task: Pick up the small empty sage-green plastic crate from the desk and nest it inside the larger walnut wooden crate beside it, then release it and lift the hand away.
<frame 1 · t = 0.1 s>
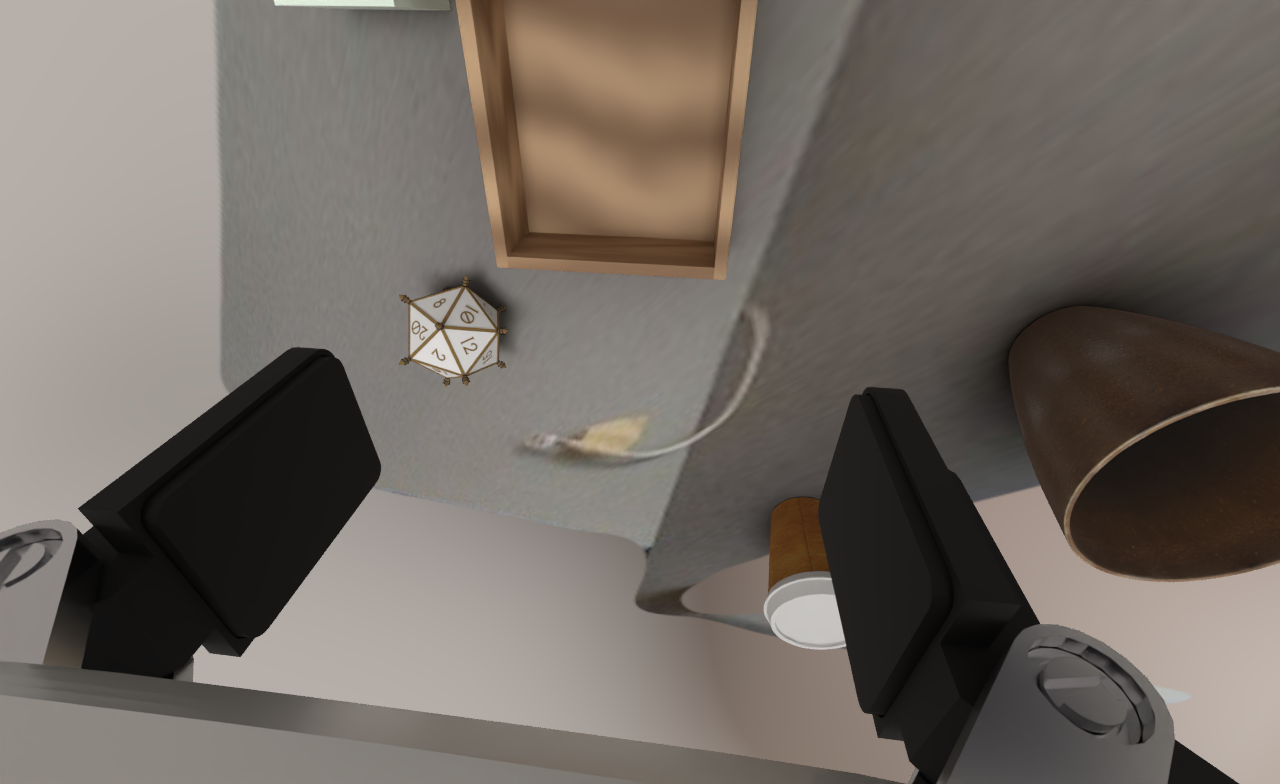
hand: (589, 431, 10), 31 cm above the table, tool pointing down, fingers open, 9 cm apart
disposable coffee cup: (800, 515, 55), on the table
plant pot: (1060, 347, 41), on the table
big crate: (620, 122, 35), on the table
game die: (475, 310, 45), on the table
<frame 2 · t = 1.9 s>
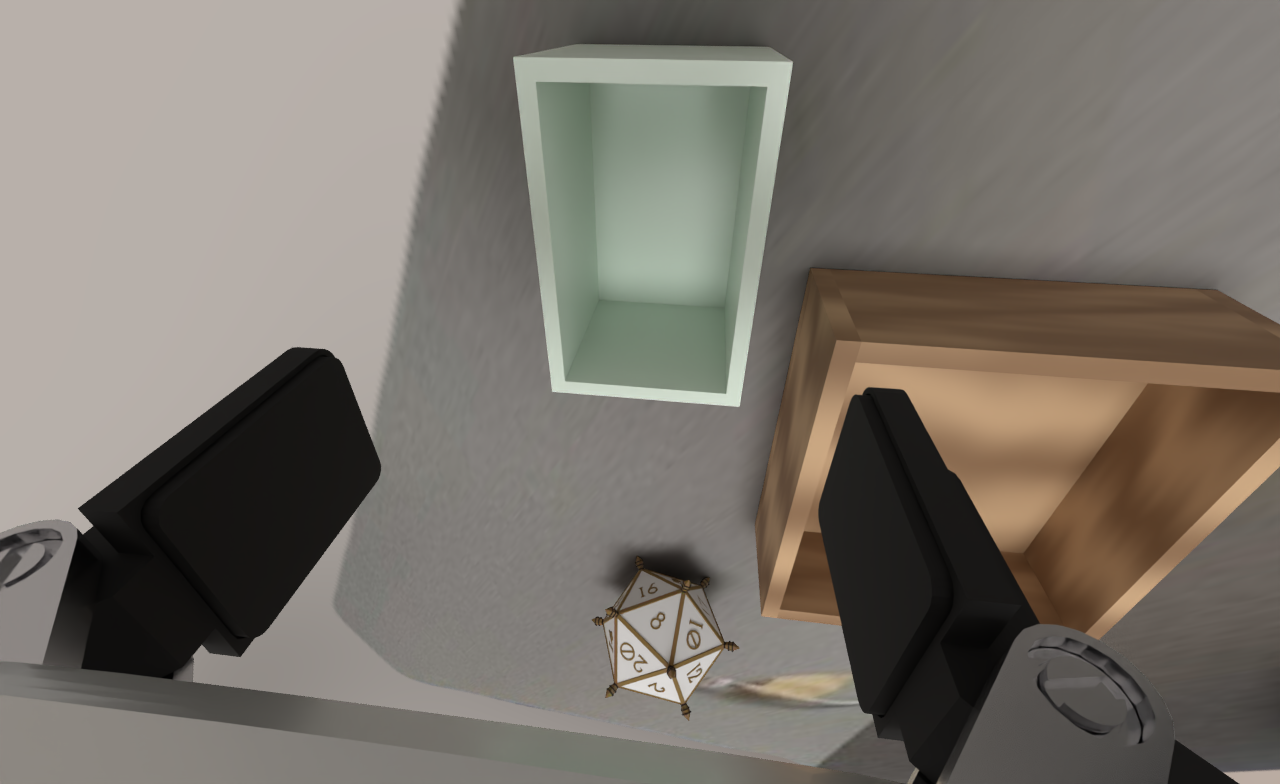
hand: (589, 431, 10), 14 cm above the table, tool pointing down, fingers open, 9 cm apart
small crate: (666, 195, 21), on the table
big crate: (935, 433, 26), on the table
game die: (666, 575, 36), on the table
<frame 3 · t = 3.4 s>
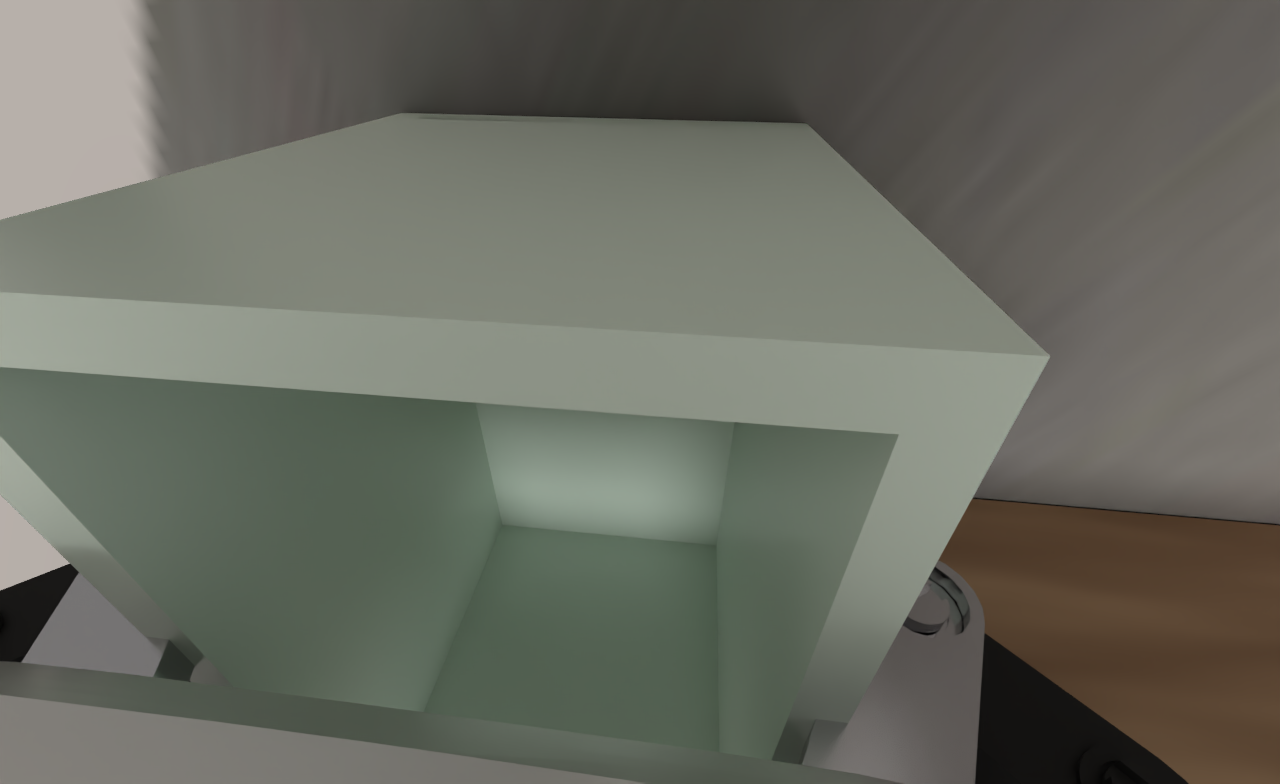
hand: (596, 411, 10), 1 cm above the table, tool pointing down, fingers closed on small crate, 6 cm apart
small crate: (606, 377, 11), on the table, touching gripper
big crate: (1051, 696, 16), on the table
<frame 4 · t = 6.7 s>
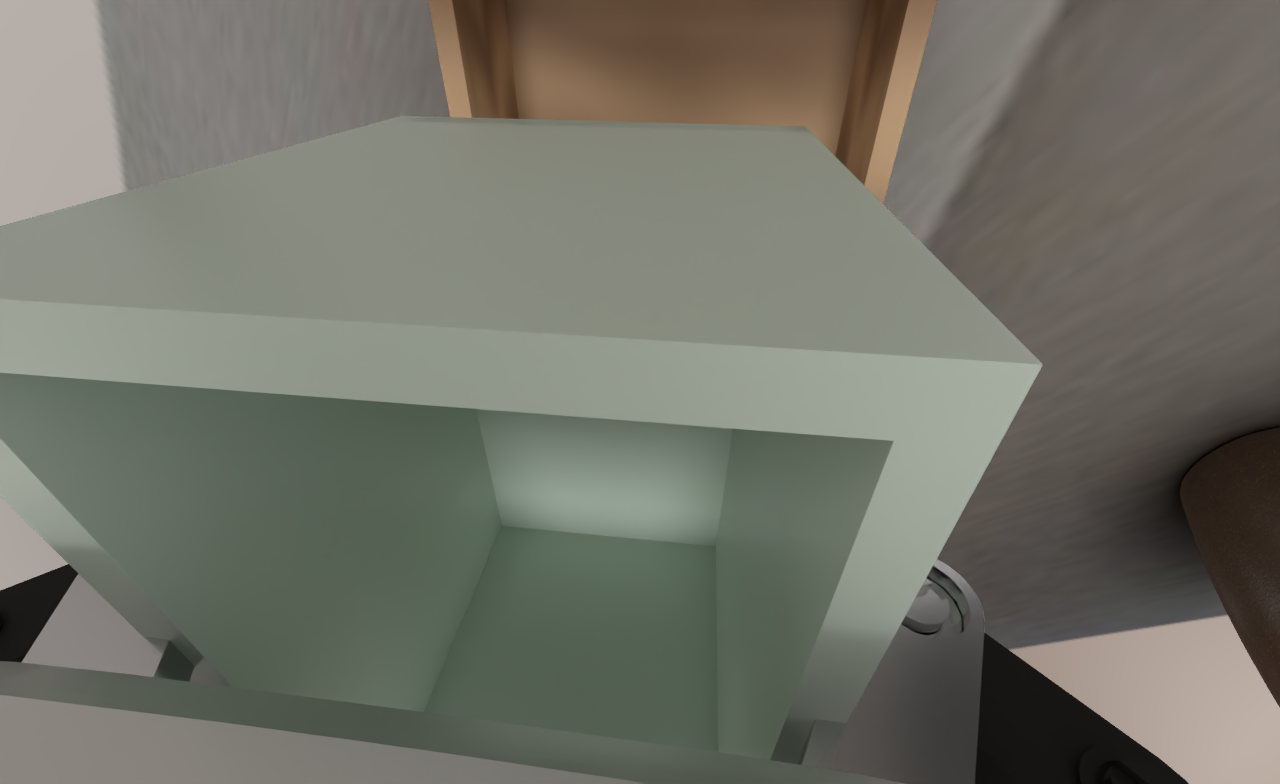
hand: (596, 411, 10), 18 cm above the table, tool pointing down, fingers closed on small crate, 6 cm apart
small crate: (605, 378, 11), point 17 cm above the table, touching gripper
plant pot: (1254, 472, 30), on the table
big crate: (674, 193, 25), on the table
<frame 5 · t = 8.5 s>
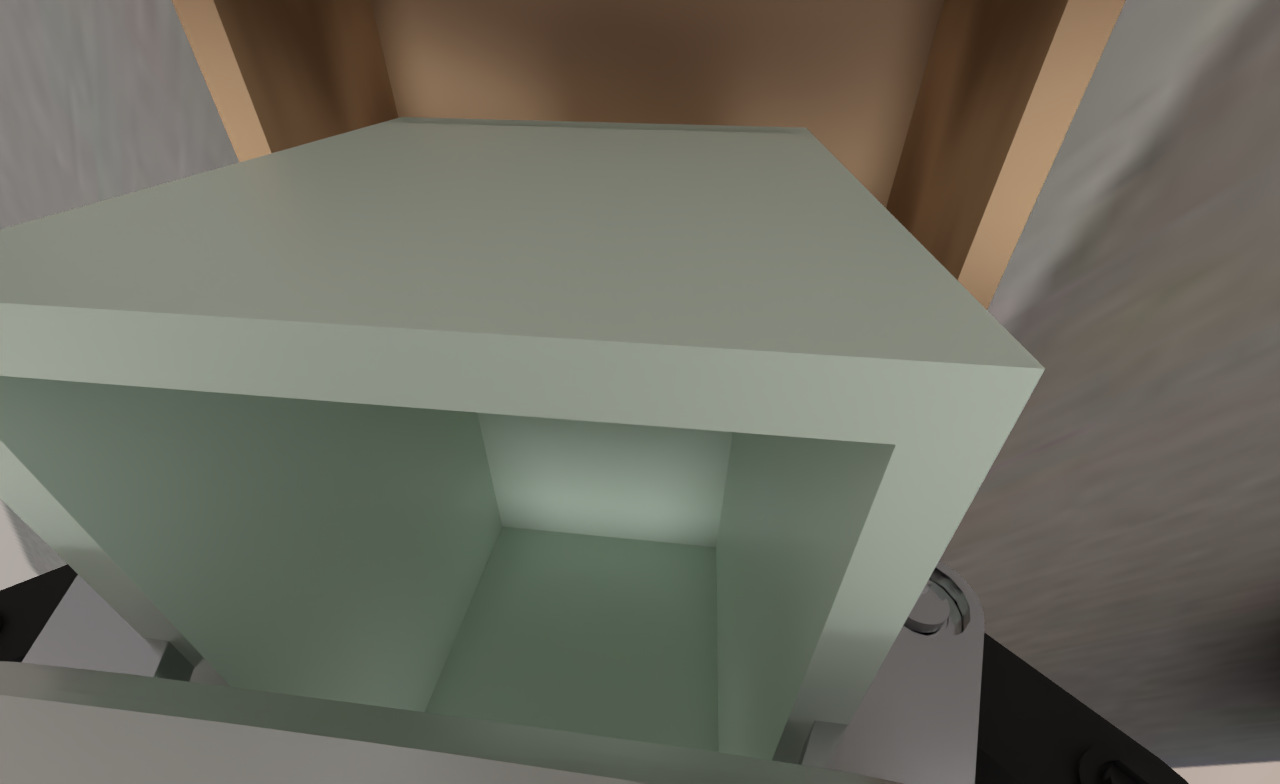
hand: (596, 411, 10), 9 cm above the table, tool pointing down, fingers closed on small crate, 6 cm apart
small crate: (605, 379, 11), point 7 cm above the table, touching gripper
big crate: (643, 248, 17), on the table
when the fingers open (4 cm above the table, at t = 9.9 s): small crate drops 2 cm, resting on big crate.
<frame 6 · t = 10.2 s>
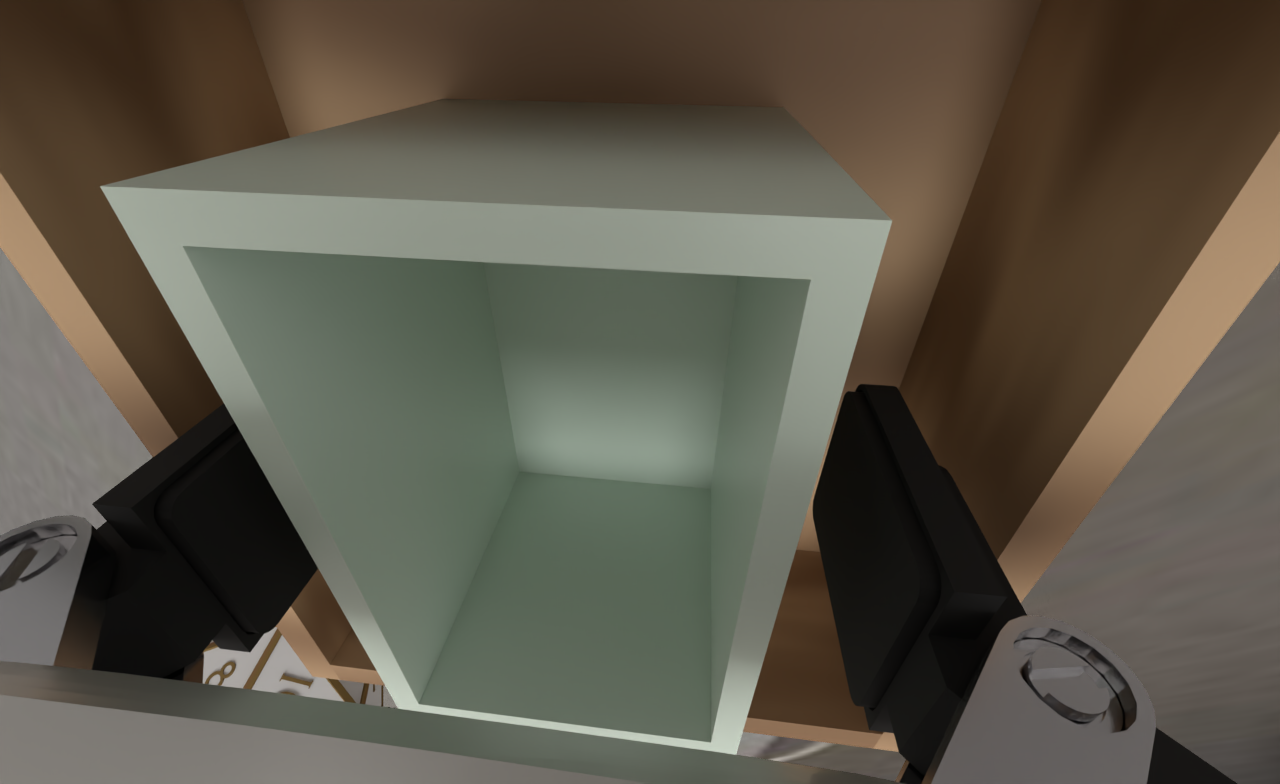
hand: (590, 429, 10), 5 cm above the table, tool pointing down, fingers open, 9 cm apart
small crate: (613, 333, 13), point 1 cm above the table, touching big crate
big crate: (623, 319, 13), on the table
game die: (344, 595, 23), on the table
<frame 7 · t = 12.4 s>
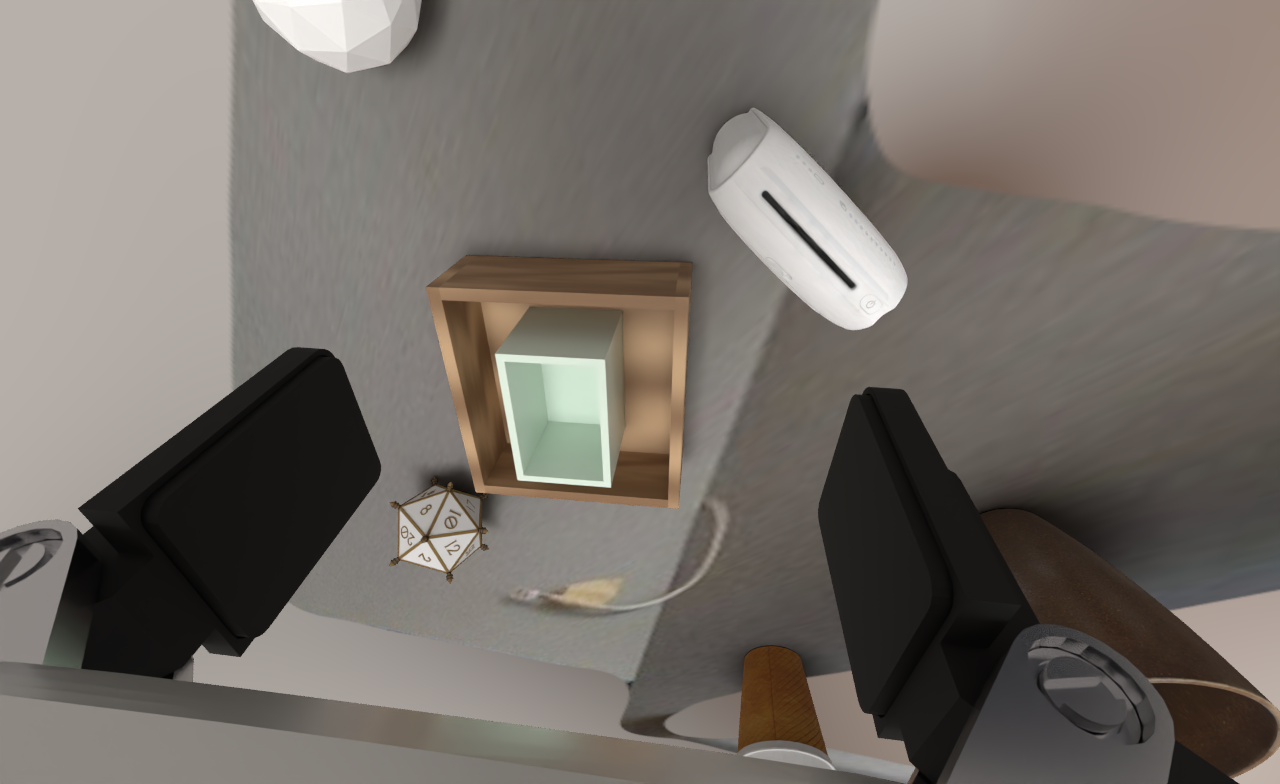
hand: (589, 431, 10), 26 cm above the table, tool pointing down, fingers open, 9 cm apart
disposable coffee cup: (772, 660, 57), on the table
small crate: (580, 370, 38), point 1 cm above the table, touching big crate
plant pot: (996, 537, 44), on the table
big crate: (584, 365, 39), on the table
photo printer: (782, 188, 31), on the table
game die: (461, 493, 49), on the table
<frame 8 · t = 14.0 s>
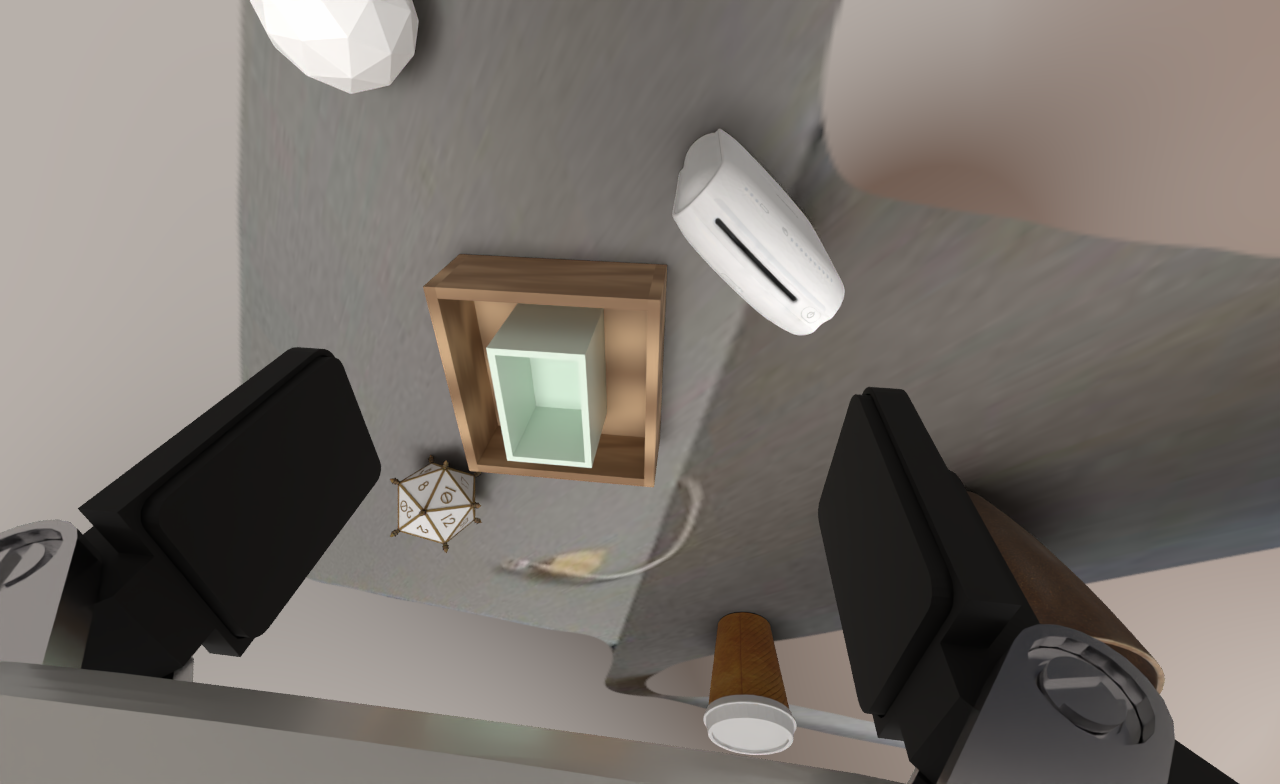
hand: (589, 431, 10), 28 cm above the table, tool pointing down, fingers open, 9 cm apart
disposable coffee cup: (743, 625, 62), on the table
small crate: (565, 360, 42), point 1 cm above the table, touching big crate
geometric ball: (377, 9, 30), on the table
plant pot: (944, 515, 48), on the table
big crate: (569, 355, 43), on the table
photo printer: (748, 199, 34), on the table
game die: (455, 471, 53), on the table
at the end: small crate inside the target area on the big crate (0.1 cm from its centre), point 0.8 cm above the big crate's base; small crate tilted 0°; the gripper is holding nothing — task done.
